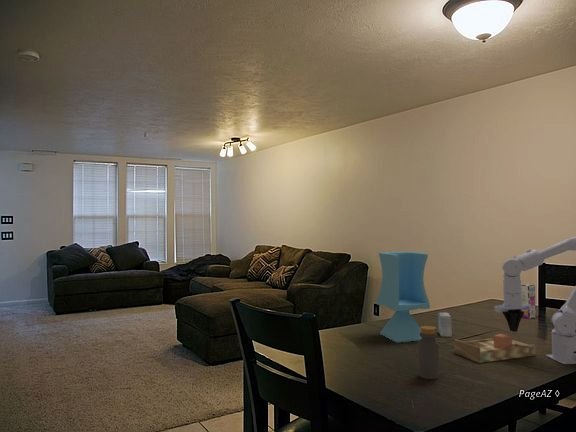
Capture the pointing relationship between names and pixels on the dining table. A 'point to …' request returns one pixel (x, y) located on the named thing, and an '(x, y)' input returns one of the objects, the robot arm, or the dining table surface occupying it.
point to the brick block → (502, 341)
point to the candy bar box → (528, 300)
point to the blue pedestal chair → (402, 293)
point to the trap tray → (491, 350)
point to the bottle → (428, 353)
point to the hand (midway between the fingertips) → (513, 331)
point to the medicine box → (444, 324)
